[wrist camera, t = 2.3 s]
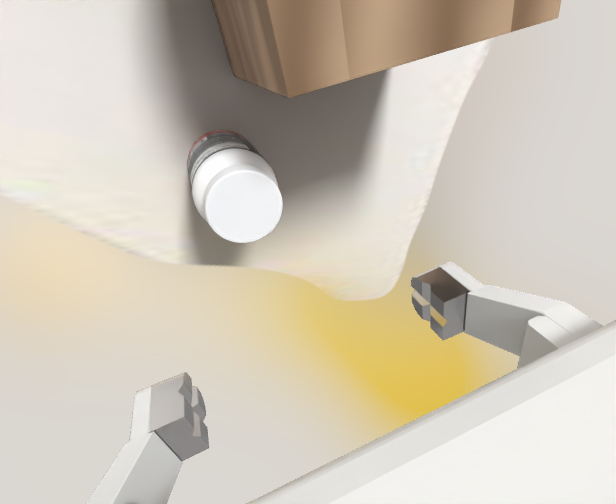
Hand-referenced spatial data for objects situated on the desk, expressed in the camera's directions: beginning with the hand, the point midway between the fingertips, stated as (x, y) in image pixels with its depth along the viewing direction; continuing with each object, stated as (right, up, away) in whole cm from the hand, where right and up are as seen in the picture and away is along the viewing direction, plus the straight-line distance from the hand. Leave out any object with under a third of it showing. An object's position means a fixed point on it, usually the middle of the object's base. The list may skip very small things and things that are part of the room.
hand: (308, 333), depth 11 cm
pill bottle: (-7, +10, +17) cm, 21 cm away
